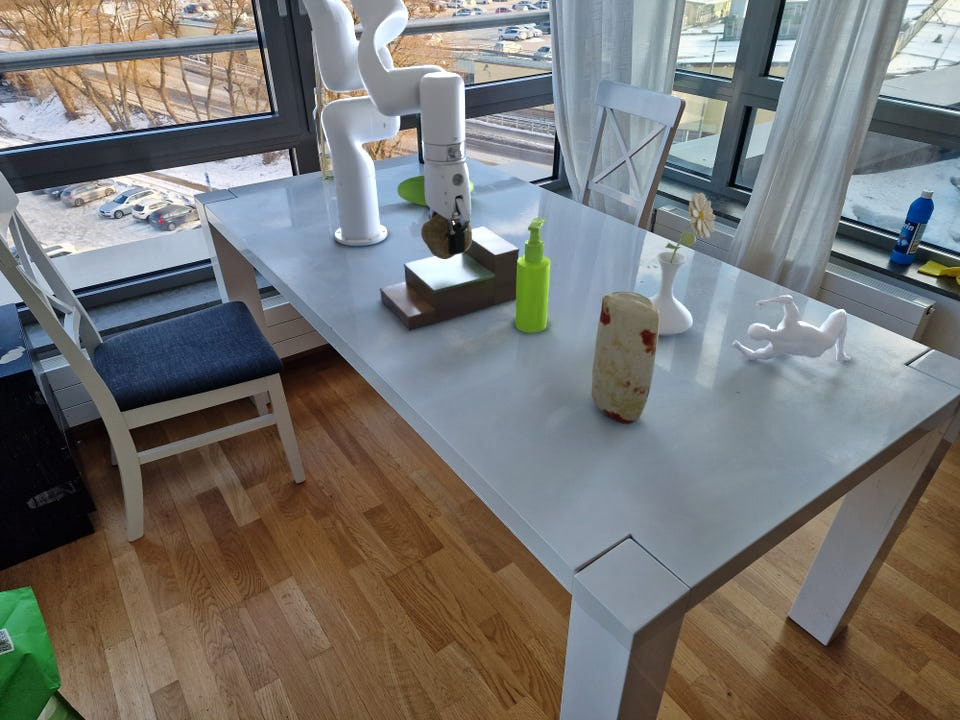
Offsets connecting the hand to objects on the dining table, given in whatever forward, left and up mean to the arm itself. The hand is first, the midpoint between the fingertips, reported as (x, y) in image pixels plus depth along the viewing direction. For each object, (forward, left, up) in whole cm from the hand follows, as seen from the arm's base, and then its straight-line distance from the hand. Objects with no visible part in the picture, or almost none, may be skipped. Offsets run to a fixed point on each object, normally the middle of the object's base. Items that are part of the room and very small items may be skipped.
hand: (447, 245), depth 120 cm
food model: (+45, +5, -12) cm, 47 cm away
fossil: (0, 0, -1) cm, 1 cm away
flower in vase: (+29, +30, -12) cm, 43 cm away
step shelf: (0, 0, -12) cm, 12 cm away
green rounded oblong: (-52, +25, -12) cm, 59 cm away
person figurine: (+49, +40, -12) cm, 64 cm away
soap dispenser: (+16, +9, -12) cm, 22 cm away
